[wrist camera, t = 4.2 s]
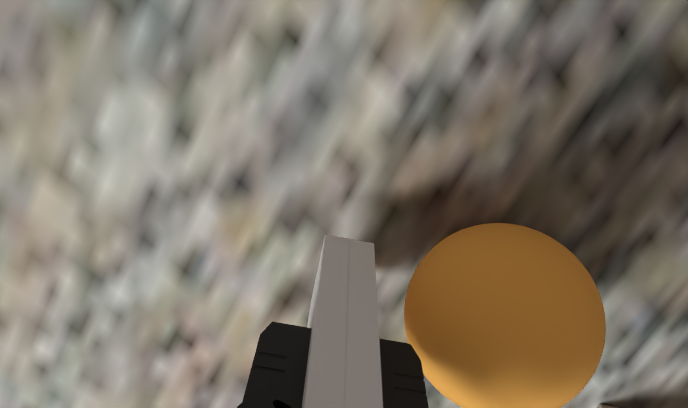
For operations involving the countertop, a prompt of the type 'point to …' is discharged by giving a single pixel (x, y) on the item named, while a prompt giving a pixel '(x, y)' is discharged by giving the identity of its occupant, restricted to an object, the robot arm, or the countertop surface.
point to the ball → (504, 318)
